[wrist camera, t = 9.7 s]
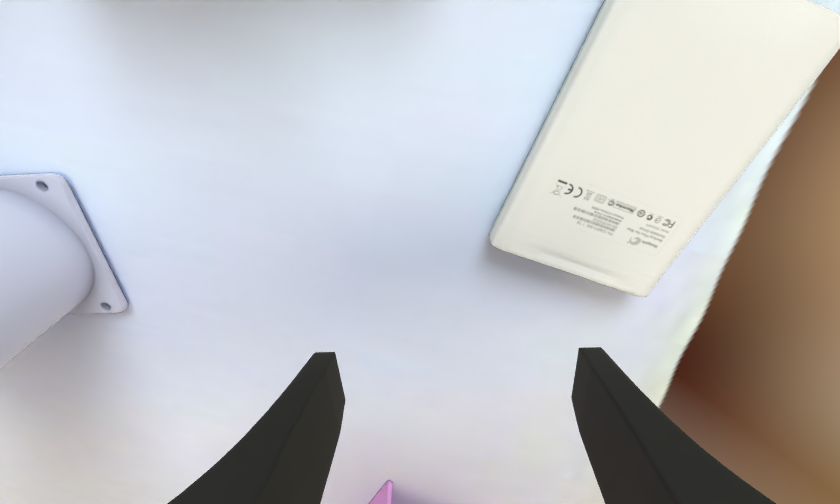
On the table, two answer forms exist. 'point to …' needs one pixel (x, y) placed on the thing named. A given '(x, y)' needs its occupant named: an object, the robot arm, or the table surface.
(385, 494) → the toy chair
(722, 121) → the hard drive
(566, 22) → the table surface
